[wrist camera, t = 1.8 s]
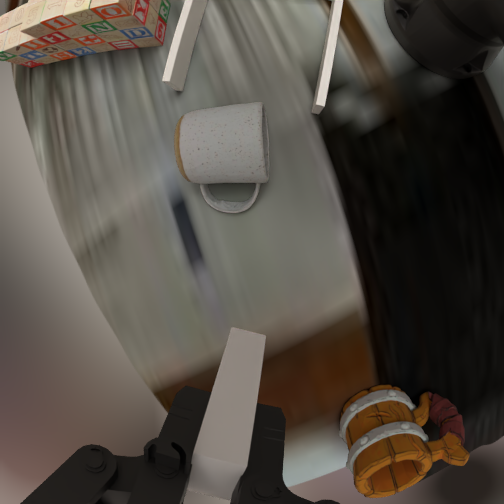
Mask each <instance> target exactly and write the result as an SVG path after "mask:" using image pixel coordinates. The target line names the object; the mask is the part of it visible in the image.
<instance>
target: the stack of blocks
mask: <svg viewBox="0 0 504 504" xmlns="http://www.w3.org/2000/svg"><path fill="white" fill-rule="evenodd" d="M169 9H170V3H169V1H168V0H29V1H28V3H26V4H24V5H22V6H20V7H18V8H16V9H15V10H12V11H10V12H8V13H6V14H4V15H2V16H0V60H1V61H8V62H11V63H15V64H20V65H23V66H27V67H30V68H32V67H36V66H39V65H42V64H49V63H53V62H57V61H60V60H66V59H70V58H75V57H78V56H83V55H88V54H94V53H97V52H105V51H111V50H122V49H130V48H139V47H152V46H162V45H163V42H164V36H165V31H166V25H167V24H166V23H167V18H168V14H169Z"/></svg>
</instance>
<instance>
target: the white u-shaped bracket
mask: <svg viewBox="0 0 504 504" xmlns="http://www.w3.org/2000/svg"><path fill="white" fill-rule="evenodd" d="M207 1H208V0H185V3H184V6H183V9H182V12H181V15H180V19H179V22H178V25H177V28H176V32H175V35H174V38H173V42H172V45H171V49H170V52H169V56H168V60H167V64H166V67H165V71H164V75H163V79H162V81H163V82H164V83H166V84H167V85H169V86H170V87H171V88H173V89H174V90H176V91H183V88H184V84H185V80H186V76H187V72H188V68H189V64H190V60H191V56H192V52H193V48H194V45H195V41H196V38H197V34H198V31H199V27H200V24H201V20H202V17H203V14H204V10H205V7H206V4H207ZM329 1H332V4H331V10H330V16H329V21H328V27H327V33H326V38H325V44H324V49H323V55H322V60H321V65H320V70H319V76H318V81H317V86H316V91H315V96H314V101H313V106H312V111H311V113H315V114H319V113H320V112H321V111H322V109H323V108H324V107H325V102H326V97H327V91H328V86H329V81H330V75H331V70H332V64H333V59H334V53H335V47H336V41H337V35H338V29H339V23H340V17H341V11H342V4H343V0H329Z"/></svg>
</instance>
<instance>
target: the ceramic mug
mask: <svg viewBox="0 0 504 504" xmlns="http://www.w3.org/2000/svg"><path fill="white" fill-rule="evenodd" d="M174 148H175V156H176V161H177V165H178V168H179V170H180V172H181V174H182V175H183V177H184V178H185V179H187V180H188V181H190V182H194V183H200V188H201V192H202V195H203V197H204V199H205V200H206V202H207V203H208V204H209V205H210V206H212V207H213V208H215V209H216V210H218V211H222V212H226V213H239V212H243V211H245V210H247V209H248V208H249V207H250V206H251V205H252V204H253V203H254V202H255V200H256V198H257V196H258V193H259V189H260V183H267V182H268V180H269V165H270V158H269V135H268V125H267V115H266V110H265V107H264V104H263V103H262V102H253V103H245V104H235V105H227V106H221V107H214V108H205V109H199V110H195V111H192V112H189V113H187V114H185V115H183V116H182V117H181V118H180V119H179V121H178V123H177V125H176V129H175V135H174ZM211 183H256V187H255V191H254V193H253V195H252V196H251V198H250V199H248V200H247V201H243V202H228V201H225V200H220V201H219V200H218V199H216V198H215V197H214V196H213V195H212V194H211V192H210V190H209V189H208V185H207V184H211Z"/></svg>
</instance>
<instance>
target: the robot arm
mask: <svg viewBox="0 0 504 504" xmlns="http://www.w3.org/2000/svg"><path fill="white" fill-rule="evenodd" d="M384 7H385V14H386V18H387V21H388V24H389V26H390V28H391V30H392V32H393V34H394V35H395V37H396V38H397V40H398V41H399V43H400V44H401V45H402V46H403V48H404V49H405V50H406V51H407V52H408V53H409V54H410V55H411V56H412V57H413V58H414V59H415V60H417V61H418V62H419V63H420V64H422V65H423V66H425V67H426V68H428V69H429V70H431V71H433V72H435V73H437V74H439V75H442V76H445V77H448V78H453V79H466V78H470V77H472V76H475V75H477V74H480V73H482V72H483V71H485V70H486V69H487V68H488V67H489V66H490V65H491V64H492V62H493V61H494V59H495V58H496V56H497V55H498V53H499V52H500V50H501V49H502V47H503V46H504V0H385V3H384ZM265 340H266V335H262V334H258V333H254V332H250V331H246V330H242V329H238V328H234V327H232V328H231V331H230V334H229V338H228V341H227V344H226V347H225V351H224V354H223V357H222V360H221V364H220V367H219V370H218V373H217V377H216V380H215V383H214V387H213V390H212V393H211V392H207V391H203V390H200V389H196V388H193V387H189V386H185V387H184V388H183V389H181V390H180V391H179V392H178V393H177V394H176V396H175V399H174V401H173V403H172V406H171V408H170V410H169V413H168V415H167V418H166V420H165V422H164V425H163V427H162V430H161V432H160V434H159V437H158V438H155V439H152V440H151V441H149V442H148V443H147V444H146V446H145V447H144V455H142V456H138V457H126V456H117V455H113V454H112V453H111V452H110V451H109V450H108V449H106V448H104V447H102V446H100V445H92V444H91V445H86V446H83V447H81V448H80V449H78V450H77V451H76V452H75V453H74V454H73V455H72V456H71V457H70V458H69V459H68V460H66V461H65V462H64V463H63V464H62V465H61V466H60V467H59V468H58V469H57V470H56V471H55V472H54V473H53V474H52V475H51V476H49V477H48V478H47V479H46V480H45V481H44V482H43V483H42V484H41V485H40V486H39V487H38V488H37V489H36V490H34V492H32V493H31V494H30V495H29V496H28V497H27V498H26V499H25V500H24V501H23V502H22V503H20V504H183V501H184V497H185V494H186V491H187V490H189V491H193V492H197V493H200V494H204V495H208V496H212V497H217V498H222V499H227V500H230V499H231V502H230V504H339V503H338V502H335V501H333V500H320V501H318V502H315V503H314V502H311V501H309V500H306V499H304V498H301V497H299V496H297V495H295V494H293V493H292V492H291V491H290V490H288V488H287V487H286V485H285V484H284V481H283V475H282V473H283V458H284V440H285V424H286V419H285V417H284V414H283V412H282V410H281V408H278V407H273V406H268V405H263V404H259V403H257V398H258V391H259V384H260V377H261V370H262V362H263V355H264V348H265Z"/></svg>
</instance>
